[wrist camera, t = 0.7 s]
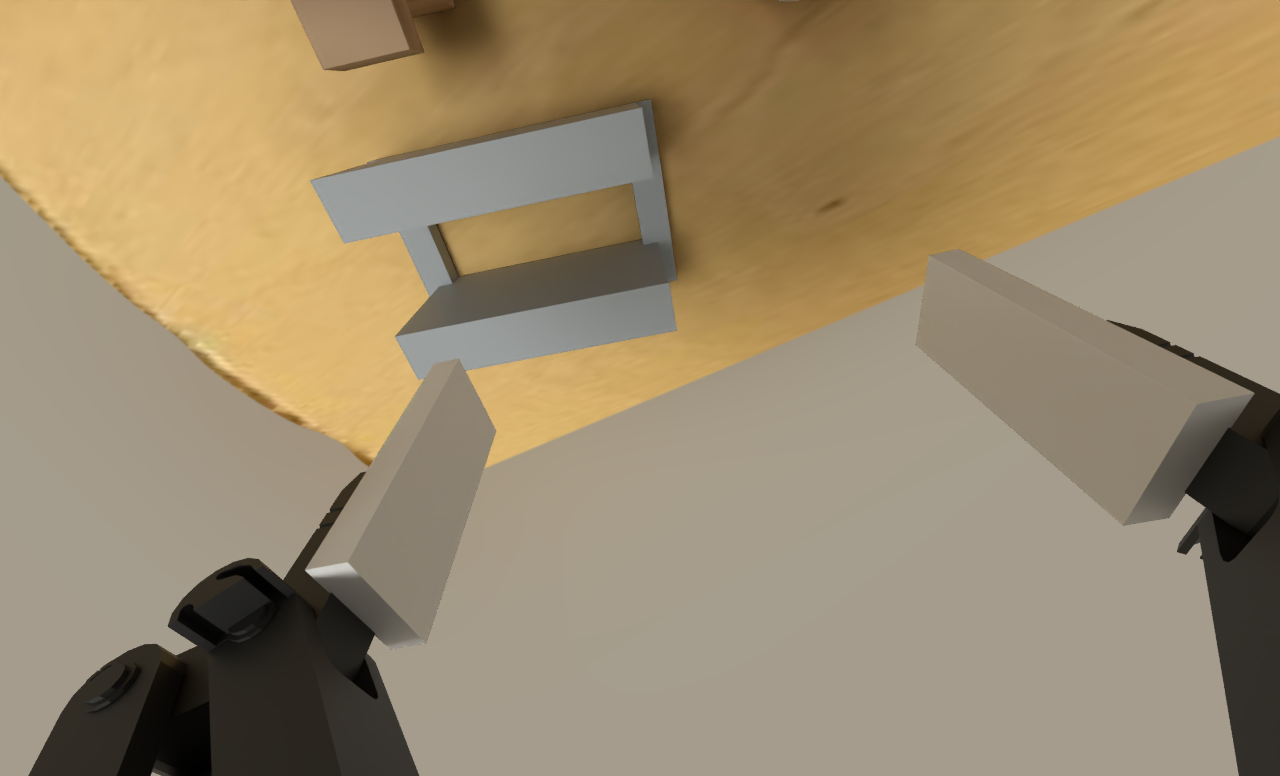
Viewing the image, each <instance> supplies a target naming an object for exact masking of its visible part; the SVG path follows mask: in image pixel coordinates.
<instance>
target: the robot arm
mask: <svg viewBox="0 0 1280 776" xmlns="http://www.w3.org/2000/svg"><path fill="white" fill-rule="evenodd" d="M916 346H918V347H919V348H920V349H921V350H922V351H923V352H924V353H926V354H927V355H928V356H929V357H930V358H931V359H933V360H934V361H935V362H936V363H937V364H938V365H939V366H940V367H942V368H943V369H944V370H945V371H946V372H947V373H948V374H950V375H951V376H952V377H953V378H954V379H955V380H957V381H958V382H959V383H960V384H961V385H962V386H963V387H965V388H966V389H967V390H968V391H969V392H970V393H971V394H973V395H974V396H975V397H976V398H977V399H978V400H980V401H981V402H982V403H983V404H984V405H985V406H986V407H987V408H989V409H990V410H991V411H992V412H993V413H994V414H996V415H997V416H998V417H999V418H1000V419H1001V420H1002V421H1004V422H1005V423H1006V424H1007V425H1008V426H1009V427H1010V428H1012V429H1013V430H1014V431H1015V432H1016V433H1017V434H1018V435H1020V436H1021V437H1022V438H1023V439H1024V440H1025V441H1027V442H1028V443H1029V444H1030V445H1031V446H1032V447H1033V448H1035V449H1036V450H1037V451H1038V452H1039V453H1040V454H1041V455H1043V456H1044V457H1045V458H1046V459H1047V460H1048V461H1049V462H1051V463H1052V464H1053V465H1054V466H1055V467H1056V468H1057V469H1059V470H1060V471H1061V472H1062V473H1063V474H1064V475H1065V476H1067V477H1068V478H1069V479H1070V480H1071V481H1072V482H1074V483H1075V484H1076V485H1077V486H1078V487H1079V488H1080V489H1082V490H1083V491H1084V492H1085V493H1086V494H1087V495H1088V496H1090V497H1091V498H1092V499H1093V500H1094V501H1095V502H1097V503H1098V504H1099V505H1100V506H1101V507H1102V508H1103V509H1104V510H1106V511H1107V512H1108V513H1109V514H1110V515H1111V516H1112V517H1114V518H1115V519H1116V520H1117V521H1118V522H1119V523H1121V524H1122V525H1123V526H1124V525H1130V524H1136V523H1142V522H1148V521H1154V520H1160V519H1166V518H1169V517H1170V516H1171V514H1172V513H1173V511H1174V510H1175V509H1176V507H1177V506H1178V504H1179V503H1180V501H1181V500H1182V498H1183V497H1184V496H1185V494H1188V495H1189V496H1190V497H1192V498H1193V499H1195V500H1196V501H1197V502H1199V503H1200V504H1202V505H1203V506H1204V507H1206V508H1205V509H1204V511H1203V512H1202V513H1201V515H1200V516H1199V517H1198V519H1197V520H1196V521H1195V523H1194V524H1193V525H1192V527H1191V528H1190V529H1189V531H1188V532H1187V534H1186V535H1185V536H1184V537H1183V539H1182V541H1180V543H1179V546H1178V549H1177V552H1179V553H1183V554H1187V553H1188V551H1189V550H1190V549H1191V548H1192V546H1193V545H1194V544H1197V543H1200V544H1201V549H1202V555H1201V556H1200V559H1203V562H1204V568H1205V573H1206V580H1207V586H1208V592H1209V598H1210V604H1211V610H1212V616H1213V622H1214V628H1215V634H1216V640H1217V646H1218V652H1219V658H1220V664H1221V670H1222V676H1223V682H1224V688H1225V694H1226V700H1227V706H1228V712H1229V718H1230V725H1231V730H1232V737H1233V743H1234V749H1235V754H1236V761H1237V766H1238V773H1239V776H1280V394H1279V393H1277V392H1275V391H1272V390H1270V389H1268V388H1266V387H1264V386H1262V385H1260V384H1258V383H1255V382H1253V381H1251V380H1249V379H1247V378H1244V377H1242V376H1241V375H1238V374H1236V373H1234V372H1232V371H1230V370H1228V369H1225V368H1223V367H1221V366H1219V365H1217V364H1215V363H1213V362H1211V361H1209V360H1207V359H1204V358H1202V357H1200V356H1199V357H1194V354H1193V353H1191V352H1189V351H1187V350H1185V349H1183V348H1181V347H1179V346H1177V345H1174V346H1171V345H1170V342H1168V341H1166V340H1164V339H1162V338H1160V337H1158V336H1156V335H1153V334H1151V333H1149V332H1147V331H1145V330H1143V329H1139V328H1136V327H1132V326H1128V325H1124V324H1121V323H1117V322H1113V321H1109V320H1104V319H1102V318H1099V317H1098V316H1096V315H1094V314H1092V313H1089V312H1087V311H1085V310H1083V309H1081V308H1079V307H1077V306H1075V305H1073V304H1071V303H1068V302H1067V301H1065V300H1063V299H1061V298H1059V297H1057V296H1055V295H1053V294H1050V293H1048V292H1046V291H1044V290H1042V289H1040V288H1038V287H1036V286H1034V285H1032V284H1030V283H1028V282H1026V281H1024V280H1022V279H1020V278H1018V277H1015V276H1013V275H1011V274H1009V273H1007V272H1005V271H1003V270H1001V269H999V268H997V267H995V266H993V265H991V264H989V263H987V262H985V261H983V260H981V259H979V258H977V257H975V256H972V255H970V254H968V253H966V252H964V251H962V250H960V249H957V250H952V251H947V252H943V253H938V254H934V255H929V260H928V266H927V273H926V280H925V286H924V293H923V299H922V307H921V313H920V320H919V326H918V332H917V339H916ZM495 433H496V429H495V427H494V425H493V423H492V421H491V419H490V418H489V416H488V414H487V412H486V410H485V408H484V406H483V404H482V402H481V400H480V398H479V396H478V394H477V392H476V390H475V388H474V387H473V385H472V383H471V381H470V379H469V377H468V375H467V373H466V371H465V369H464V367H463V365H462V363H461V361H460V359H454V360H450V361H445V362H441V363H436V364H434V365H433V366H432V368H431V369H430V371H429V373H428V374H427V376H426V377H425V379H424V381H423V382H422V384H421V385H420V387H419V388H418V390H417V392H416V393H415V395H414V396H413V398H412V400H411V401H410V403H409V404H408V406H407V408H406V409H405V411H404V412H403V414H402V416H401V417H400V419H399V420H398V422H397V424H396V425H395V427H394V428H393V430H392V432H391V433H390V435H389V436H388V438H387V440H386V441H385V443H384V444H383V446H382V448H381V449H380V451H379V452H378V454H377V456H376V457H375V459H374V460H373V462H372V464H371V465H370V467H369V468H368V470H367V472H362V473H360V474H359V475H358V476H357V477H356V478H355V479H354V480H353V481H351V482H350V483H349V484H348V485H347V486H346V487H345V488H344V489H343V490H342V491H341V493H340V494H339V496H338V497H337V499H336V500H335V502H334V503H333V505H332V506H331V508H330V513H327V514H326V516H325V517H324V519H323V520H322V522H321V523H320V529H316V531H315V533H314V534H313V535H312V537H311V538H310V540H309V542H308V543H307V545H306V546H305V548H304V549H303V551H302V552H301V554H300V555H299V557H298V558H297V560H296V561H295V563H294V564H293V566H292V567H291V569H290V570H289V572H288V573H287V575H286V577H285V578H284V580H282V579H281V578H280V577H278V576H277V575H276V574H275V573H274V572H273V571H272V570H271V569H269V568H268V567H267V566H266V565H265V564H264V563H262V562H261V561H260V560H259V559H253V558H247V559H243V560H239V561H236V562H233V563H231V564H229V565H227V566H225V567H223V568H221V569H219V570H217V571H215V572H214V573H213V574H211V575H210V576H208V577H207V578H206V579H204V580H203V581H202V582H200V583H199V584H198V585H197V586H196V587H194V588H193V589H192V590H191V591H190V592H189V593H188V594H187V595H186V596H185V597H184V598H183V599H182V600H181V602H180V603H179V605H178V606H177V607H176V609H175V610H174V612H173V613H172V615H171V618H170V621H169V624H168V627H169V628H171V629H172V630H174V631H175V632H177V633H178V634H180V635H181V636H183V637H185V638H186V639H188V640H189V641H191V642H192V643H194V644H195V645H197V646H196V647H194V648H192V649H189V650H188V651H185V652H183V653H181V654H179V655H174V654H172V653H171V652H169V651H167V650H166V649H164V648H162V647H161V646H159V645H157V644H144V645H142V646H139V647H137V648H134V649H132V650H129V651H127V652H126V653H124V654H122V655H121V656H119V657H117V658H116V659H114V660H112V661H110V662H109V663H107V664H106V665H105V666H103V667H102V668H101V670H100V671H97V672H96V673H95V674H93V675H92V676H91V677H90V678H89V679H88V680H87V681H86V683H85V684H84V685H83V686H82V687H81V688H80V689H79V690H78V691H77V692H76V693H75V694H74V695H73V697H72V698H71V699H70V701H69V702H68V704H67V705H66V707H65V708H64V710H63V711H62V713H61V714H60V717H59V718H58V720H57V722H56V724H55V726H54V728H53V730H52V732H51V734H50V736H49V738H48V739H47V741H46V743H45V745H44V747H43V749H42V751H41V753H40V755H39V756H38V759H37V760H36V762H35V764H34V766H33V768H32V770H31V772H30V774H29V776H151V773H152V772H154V773H156V774H159V775H161V776H419V774H418V771H417V769H416V766H415V764H414V761H413V758H412V756H411V753H410V751H409V748H408V746H407V743H406V740H405V738H404V735H403V732H402V730H401V727H400V725H399V722H398V720H397V717H396V714H395V712H394V709H393V707H392V704H391V702H390V699H389V696H388V694H387V691H386V688H385V686H384V683H383V681H382V678H381V676H380V673H379V670H378V668H377V665H376V663H375V661H374V660H373V659H372V658H371V657H370V656H369V655H368V654H367V651H368V649H369V647H370V644H371V642H372V640H373V637H374V635H375V636H376V637H377V638H378V639H379V640H381V641H382V642H383V643H384V644H385V645H386V646H387V647H388V648H389V649H390V650H391V649H397V648H403V647H409V646H415V645H421V644H426V643H427V640H428V636H429V634H430V631H431V627H432V625H433V622H434V618H435V615H436V613H437V609H438V607H439V603H440V600H441V597H442V594H443V591H444V588H445V585H446V582H447V579H448V576H449V573H450V570H451V567H452V564H453V561H454V558H455V554H456V551H457V548H458V545H459V543H460V540H461V537H462V534H463V530H464V527H465V524H466V521H467V518H468V515H469V512H470V509H471V506H472V503H473V500H474V497H475V494H476V491H477V488H478V485H479V482H480V479H481V476H482V473H483V470H484V467H485V464H486V461H487V457H488V454H489V451H490V448H491V445H492V442H493V439H494V436H495Z"/></svg>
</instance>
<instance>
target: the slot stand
mask: <svg viewBox="0 0 1280 776" xmlns="http://www.w3.org/2000/svg"><path fill="white" fill-rule="evenodd" d="M310 182H311V184H312V185H313V187H314V189H315V191H316V193H317V195H318V196H319V198H320V200H321V202H322V204H323V206H324V207H325V209H326V211H327V213H328V215H329V217H330V218H331V220H332V222H333V224H334V226H335V228H336V229H337V231H338V233H339V235H340V237H341V239H342V240H343V242H344V243H349V242H354V241H358V240H363V239H368V238H373V237H377V236H382V235H387V234H392V233H396V232H399V233H400V235H401V237H402V239H403V241H404V243H405V246H406V248H407V250H408V252H409V254H410V256H411V258H412V260H413V263H414V265H415V267H416V269H417V271H418V273H419V275H420V277H421V280H422V282H423V284H424V286H425V288H426V290H427V292H428V294H429V299H428V300H427V301H426V302H425V303H424V304H423V305H422V306H421V308H420V309H419V310H418V311H417V312H416V313H415V314H414V316H413V317H412V318H411V319H410V320H409V321H408V322H407V323H406V325H405V326H404V327H403V328H402V329H401V330H400V331H399V332H398V334H397V335H396V336H395V338H396V340H397V342H398V343H399V345H400V347H401V349H402V351H403V353H404V354H405V356H406V358H407V360H408V362H409V364H410V365H411V367H412V369H413V371H414V373H415V375H416V376H417V378H418V380H420V379H425V377H426V376H427V374H428V373H429V371H430V369H431V368H432V366H433V365H434V364H436V363H441V362H445V361H450V360H454V359H460V361H461V363H462V365H463V367H464V369H465V371H467V370H472V369H478V368H483V367H488V366H494V365H499V364H504V363H509V362H515V361H520V360H525V359H530V358H536V357H541V356H546V355H551V354H557V353H562V352H567V351H572V350H578V349H583V348H588V347H593V346H599V345H604V344H609V343H614V342H620V341H625V340H630V339H635V338H641V337H646V336H651V335H656V334H662V333H667V332H672V331H677V329H676V322H675V316H674V310H673V303H672V297H671V290H670V284H669V282H670V281H675V280H677V274H676V268H675V261H674V254H673V247H672V240H671V233H670V226H669V219H668V213H667V206H666V199H665V192H664V185H663V178H662V171H661V164H660V158H659V151H658V144H657V137H656V130H655V123H654V116H653V109H652V102H651V99H648V100H644V101H639V102H635V103H630V104H626V105H621V106H617V107H612V108H607V109H603V110H598V111H594V112H589V113H585V114H580V115H576V116H571V117H567V118H562V119H558V120H553V121H549V122H544V123H540V124H535V125H531V126H526V127H522V128H517V129H513V130H508V131H504V132H499V133H495V134H490V135H486V136H481V137H476V138H472V139H467V140H463V141H458V142H454V143H449V144H445V145H440V146H436V147H431V148H427V149H422V150H418V151H413V152H409V153H404V154H400V155H395V156H391V157H386V158H382V159H377V160H374V161H370V162H367V164H364V165H361V166H357V167H354V168H351V169H347V170H344V171H341V172H337V173H334V174H331V175H327V176H324V177H321V178H317V179H314V180H310ZM629 183H632V186H633V191H634V197H635V202H636V208H637V213H638V219H639V225H640V230H641V236H642V239H641V240H636V241H631V242H626V243H621V244H616V245H611V246H606V247H602V248H597V249H592V250H587V251H582V252H577V253H572V254H567V255H562V256H557V257H552V258H547V259H542V260H538V261H533V262H528V263H523V264H518V265H513V266H508V267H503V268H498V269H493V270H488V271H483V272H478V273H474V274H469V275H464V276H459V277H458V274H457V272H456V270H455V267H454V265H453V263H452V260H451V258H450V256H449V253H448V251H447V248H446V246H445V244H444V241H443V239H442V237H441V234H440V232H439V229H438V227H437V225H436V224H439V223H444V222H448V221H453V220H458V219H463V218H467V217H472V216H477V215H482V214H486V213H491V212H496V211H501V210H505V209H510V208H515V207H520V206H524V205H529V204H534V203H539V202H543V201H548V200H553V199H558V198H562V197H567V196H572V195H576V194H581V193H586V192H591V191H595V190H600V189H605V188H610V187H614V186H619V185H624V184H629Z"/></svg>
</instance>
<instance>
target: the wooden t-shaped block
mask: <svg viewBox="0 0 1280 776" xmlns="http://www.w3.org/2000/svg"><path fill="white" fill-rule="evenodd" d="M291 2H292V5H293V7H294V9H295V11H296V13H297V15H298V17H299V19H300V22H301V24H302V26H303V28H304V30H305V32H306V34H307V36H308V39H309V41H310V43H311V45H312V47H313V49H314V51H315V53H316V56H317V58H318V60H319V62H320V64H321V66H322V68H323V70H335V71H347V70H351V69H356V68H360V67H364V66H368V65H373V64H377V63H381V62H385V61H390V60H394V59H398V58H402V57H407V56H411V55H415V54H420V53H424V49H423V46H422V44H421V41H420V38H419V35H418V33H417V30H416V27H415V24H414V22H413V19H412V18H414V17H419V16H423V15H427V14H431V13H435V12H439V11H444V10H448V9H452V8H456V7H455V4H454V0H291Z"/></svg>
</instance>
